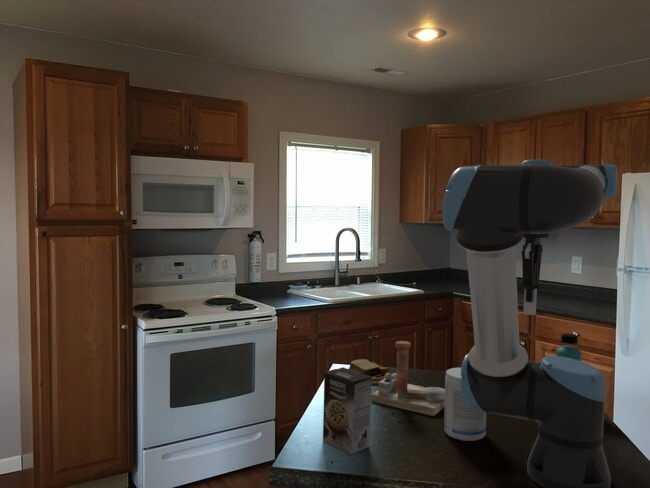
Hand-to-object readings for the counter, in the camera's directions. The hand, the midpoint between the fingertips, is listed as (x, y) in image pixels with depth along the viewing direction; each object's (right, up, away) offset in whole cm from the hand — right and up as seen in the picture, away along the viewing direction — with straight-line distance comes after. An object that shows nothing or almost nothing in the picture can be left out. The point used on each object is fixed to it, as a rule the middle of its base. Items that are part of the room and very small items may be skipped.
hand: (529, 313), depth 140 cm
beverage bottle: (+13, -26, +8) cm, 30 cm away
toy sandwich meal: (-39, -24, +29) cm, 54 cm away
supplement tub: (-19, -27, -11) cm, 35 cm away
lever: (-27, -23, +7) cm, 36 cm away
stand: (-28, -25, +10) cm, 39 cm away
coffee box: (-48, -27, -18) cm, 58 cm away
